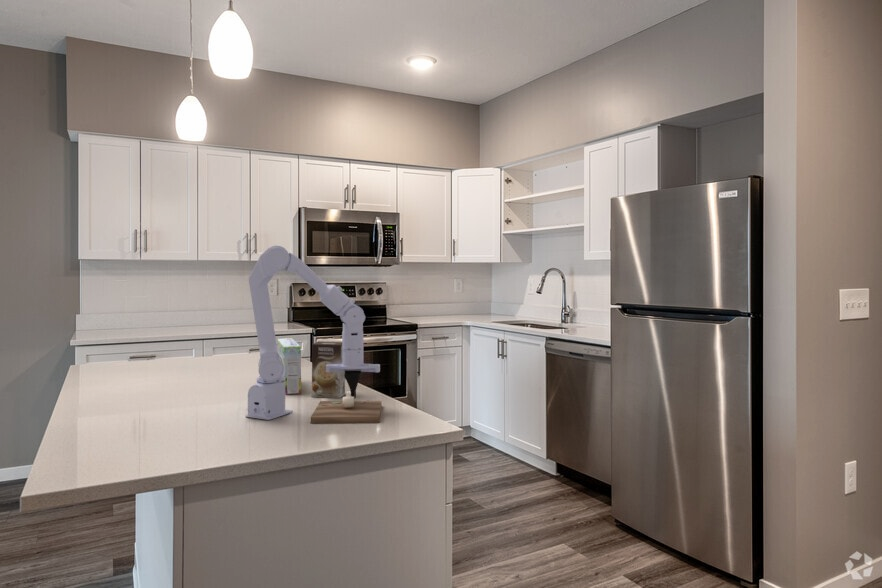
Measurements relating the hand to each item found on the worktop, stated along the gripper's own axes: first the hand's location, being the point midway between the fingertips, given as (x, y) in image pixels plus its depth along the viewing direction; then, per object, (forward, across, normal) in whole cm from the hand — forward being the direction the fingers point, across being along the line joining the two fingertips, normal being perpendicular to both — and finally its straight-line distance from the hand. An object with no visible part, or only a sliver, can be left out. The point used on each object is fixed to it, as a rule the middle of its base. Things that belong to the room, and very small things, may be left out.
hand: (353, 398), depth 161 cm
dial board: (+3, 0, +6) cm, 6 cm away
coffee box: (+3, +11, -17) cm, 20 cm away
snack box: (+3, +26, -28) cm, 38 cm away
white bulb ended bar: (+1, +1, +2) cm, 2 cm away
